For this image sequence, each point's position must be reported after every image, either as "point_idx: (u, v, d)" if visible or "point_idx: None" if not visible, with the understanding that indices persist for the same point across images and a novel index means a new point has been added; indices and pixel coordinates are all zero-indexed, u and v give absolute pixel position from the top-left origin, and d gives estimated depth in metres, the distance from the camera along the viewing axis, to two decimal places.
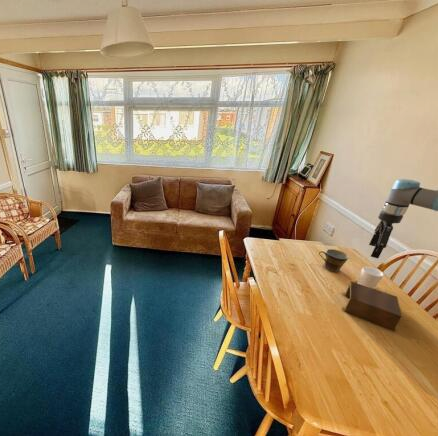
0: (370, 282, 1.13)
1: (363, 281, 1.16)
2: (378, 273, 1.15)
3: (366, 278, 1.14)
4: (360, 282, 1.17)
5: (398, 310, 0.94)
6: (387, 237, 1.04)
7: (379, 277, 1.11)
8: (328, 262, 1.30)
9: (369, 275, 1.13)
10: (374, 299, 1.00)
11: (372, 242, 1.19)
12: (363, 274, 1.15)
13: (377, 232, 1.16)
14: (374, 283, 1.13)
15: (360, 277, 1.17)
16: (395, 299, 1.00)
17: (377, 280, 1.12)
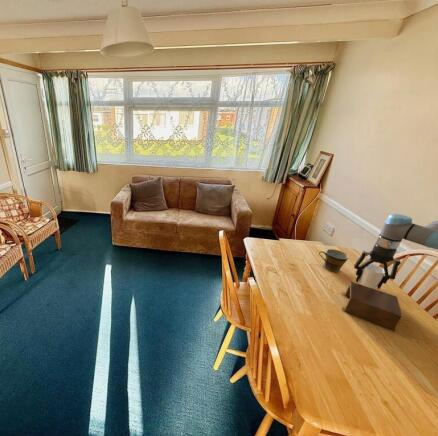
0: (372, 279, 1.12)
1: (365, 278, 1.14)
2: (380, 270, 1.14)
3: (368, 275, 1.13)
4: (362, 279, 1.16)
5: (398, 310, 0.94)
6: None
7: (381, 274, 1.10)
8: (328, 262, 1.30)
9: (371, 272, 1.12)
10: (374, 299, 1.00)
11: (359, 278, 1.18)
12: (365, 272, 1.14)
13: None
14: (376, 280, 1.12)
15: (362, 274, 1.16)
16: (395, 299, 1.00)
17: (379, 277, 1.11)
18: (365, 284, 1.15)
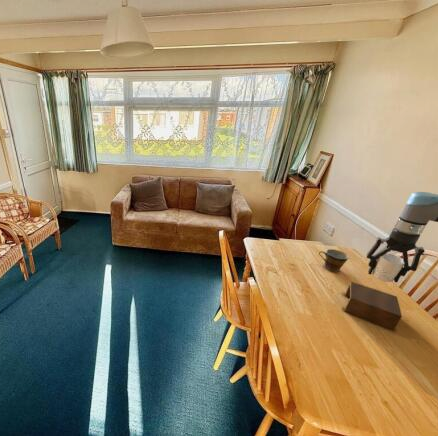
0: (389, 270, 0.95)
1: (380, 270, 0.97)
2: (398, 260, 0.96)
3: (384, 266, 0.95)
4: (376, 271, 0.99)
5: (398, 310, 0.94)
6: None
7: (400, 265, 0.92)
8: (328, 262, 1.30)
9: (388, 262, 0.94)
10: (374, 299, 1.00)
11: None
12: (380, 262, 0.97)
13: None
14: (394, 272, 0.94)
15: (376, 265, 0.98)
16: (395, 299, 1.00)
17: (398, 268, 0.93)
18: (379, 277, 0.98)
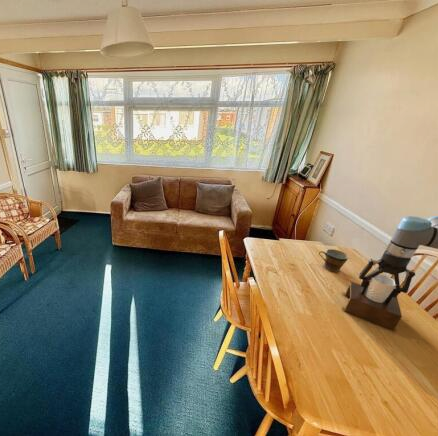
0: (380, 292, 0.96)
1: (372, 291, 0.98)
2: (390, 282, 0.97)
3: (376, 288, 0.96)
4: (369, 292, 1.00)
5: (398, 310, 0.94)
6: None
7: (392, 287, 0.93)
8: (328, 262, 1.30)
9: (380, 284, 0.95)
10: None
11: (364, 290, 1.02)
12: (372, 283, 0.98)
13: None
14: (386, 294, 0.95)
15: (369, 286, 1.00)
16: (395, 299, 1.00)
17: (389, 290, 0.94)
18: (372, 297, 0.99)
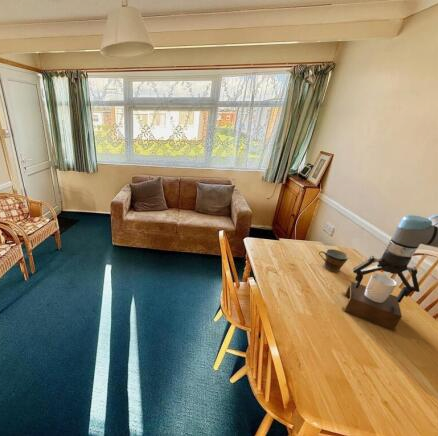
0: (380, 292, 0.96)
1: (372, 291, 0.98)
2: (390, 282, 0.97)
3: (376, 288, 0.96)
4: (369, 292, 1.00)
5: (398, 310, 0.94)
6: (416, 278, 0.91)
7: (392, 287, 0.93)
8: (328, 262, 1.30)
9: (380, 284, 0.95)
10: None
11: None
12: (372, 283, 0.98)
13: None
14: (386, 294, 0.95)
15: (369, 286, 1.00)
16: (395, 299, 1.00)
17: (389, 290, 0.94)
18: (372, 297, 0.99)
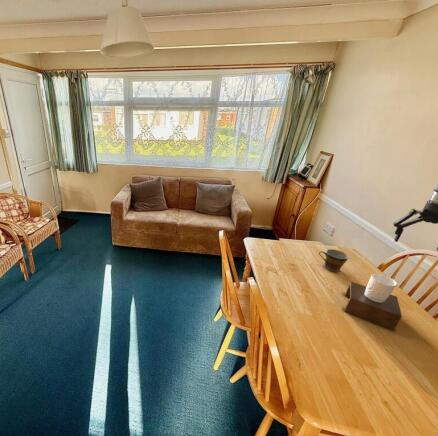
0: (380, 292, 0.96)
1: (372, 291, 0.98)
2: (390, 282, 0.97)
3: (376, 288, 0.96)
4: (369, 292, 1.00)
5: (398, 310, 0.94)
6: None
7: (392, 287, 0.93)
8: (328, 262, 1.30)
9: (380, 284, 0.95)
10: None
11: None
12: (372, 283, 0.98)
13: None
14: (386, 294, 0.95)
15: (369, 286, 1.00)
16: (395, 299, 1.00)
17: (389, 290, 0.94)
18: (372, 297, 0.99)
